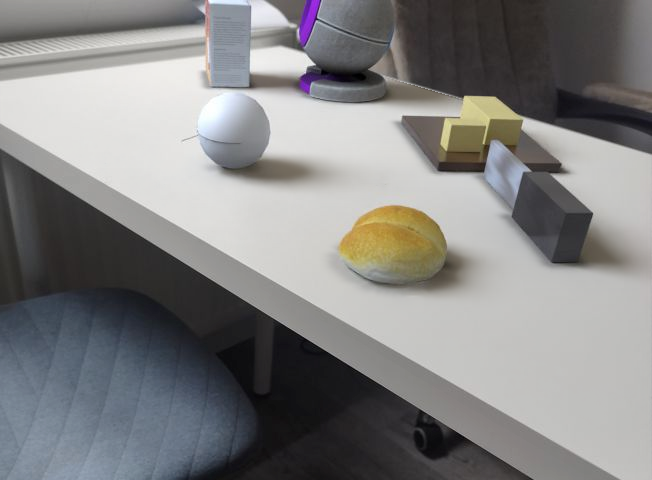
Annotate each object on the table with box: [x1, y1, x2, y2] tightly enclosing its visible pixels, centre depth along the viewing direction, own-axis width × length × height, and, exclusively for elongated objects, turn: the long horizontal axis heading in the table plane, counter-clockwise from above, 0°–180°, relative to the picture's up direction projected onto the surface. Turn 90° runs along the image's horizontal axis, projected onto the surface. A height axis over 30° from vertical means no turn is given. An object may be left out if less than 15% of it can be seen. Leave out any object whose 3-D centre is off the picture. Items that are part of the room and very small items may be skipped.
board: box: [400, 115, 563, 173], centre depth 82 cm, size 14×16×1 cm
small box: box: [204, 0, 252, 88], centre depth 96 cm, size 8×6×10 cm
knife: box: [483, 140, 594, 263], centre depth 65 cm, size 19×2×4 cm, turn 8°
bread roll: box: [338, 204, 448, 285], centre depth 56 cm, size 8×9×4 cm
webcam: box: [298, 0, 396, 103], centre depth 94 cm, size 13×13×15 cm
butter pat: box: [440, 118, 486, 152], centre depth 77 cm, size 4×2×3 cm, turn 98°
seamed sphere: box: [181, 91, 272, 170], centre depth 69 cm, size 10×7×7 cm
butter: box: [459, 95, 524, 145], centre depth 82 cm, size 4×9×3 cm, turn 8°
